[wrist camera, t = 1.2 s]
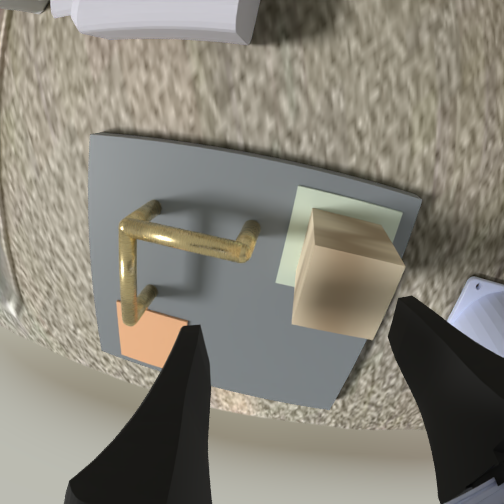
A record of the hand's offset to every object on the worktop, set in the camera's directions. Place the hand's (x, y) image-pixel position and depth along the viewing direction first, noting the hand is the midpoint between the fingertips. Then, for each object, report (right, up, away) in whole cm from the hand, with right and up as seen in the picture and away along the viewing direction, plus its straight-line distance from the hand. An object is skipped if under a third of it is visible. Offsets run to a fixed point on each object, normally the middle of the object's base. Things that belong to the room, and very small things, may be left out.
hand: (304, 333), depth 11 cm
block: (+3, +3, +7) cm, 8 cm away
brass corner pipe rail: (-5, +2, +9) cm, 10 cm away
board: (-3, 0, +11) cm, 11 cm away
